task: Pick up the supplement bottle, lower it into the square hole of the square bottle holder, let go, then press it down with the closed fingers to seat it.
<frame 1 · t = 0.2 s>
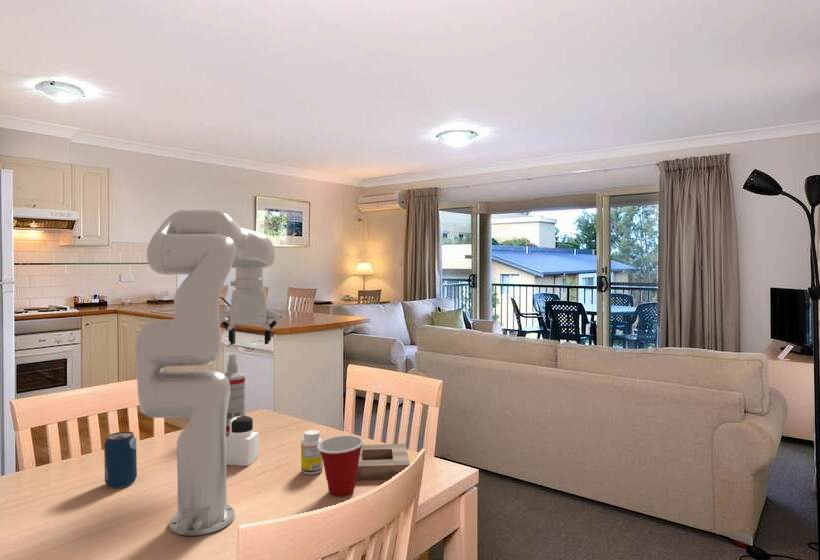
hand: (249, 343, 155), 31 cm above the table, tool pointing down, fingers open, 9 cm apart
square bottle holder: (377, 467, 141), on the table
plastic cup: (340, 492, 126), on the table
soda can: (121, 484, 131), on the table
spray bottle: (233, 431, 173), on the table
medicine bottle: (241, 461, 146), on the table
supplement bottle: (312, 471, 139), on the table
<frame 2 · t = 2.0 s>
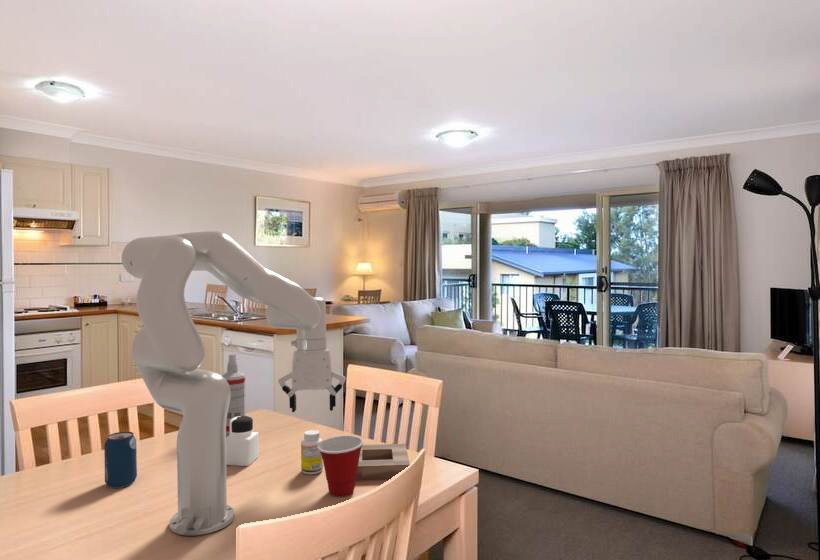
hand: (312, 410, 139), 16 cm above the table, tool pointing down, fingers open, 9 cm apart
nothing on the table moved.
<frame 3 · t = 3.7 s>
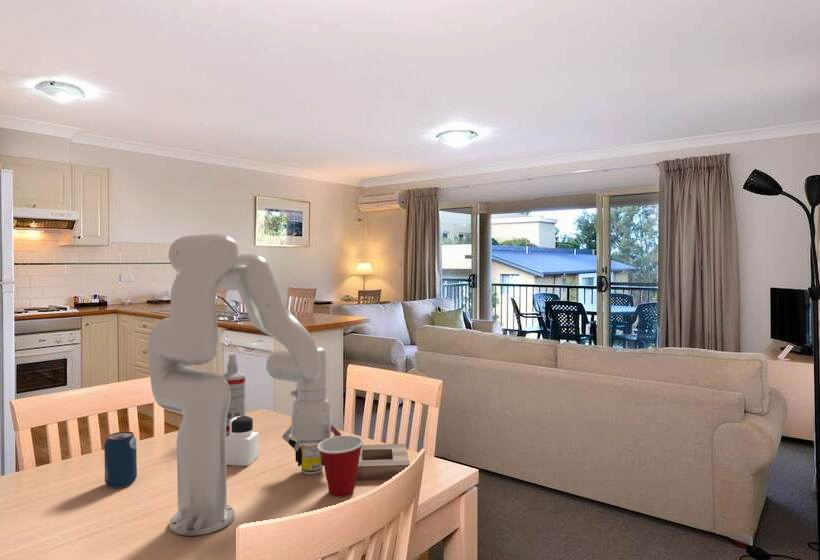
hand: (312, 463, 139), 2 cm above the table, tool pointing down, fingers closed on supplement bottle, 5 cm apart
supplement bottle: (312, 471, 139), on the table, touching gripper
everything else where it was.
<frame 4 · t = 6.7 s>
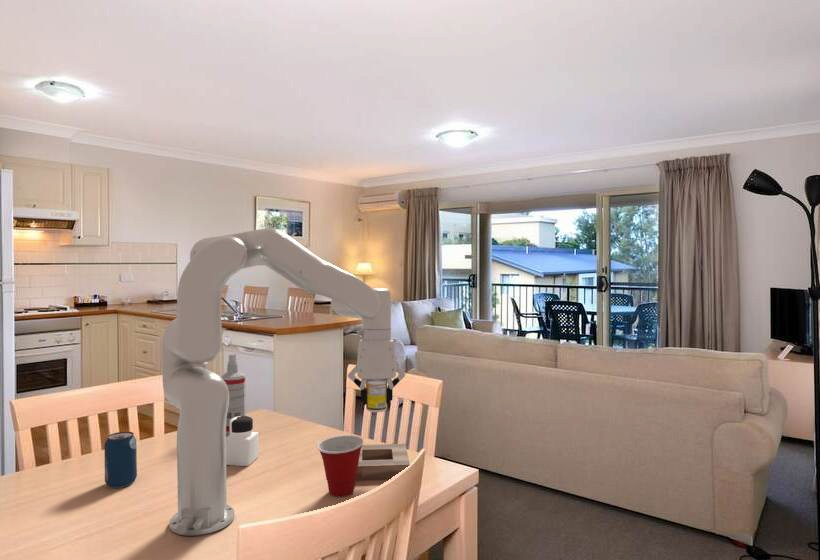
hand: (376, 402, 141), 17 cm above the table, tool pointing down, fingers closed on supplement bottle, 5 cm apart
supplement bottle: (376, 411, 141), point 15 cm above the table, touching gripper
everything else where it was.
when the fingers open (4 cm above the table, at t = 9.6 s): supplement bottle drops 2 cm, resting in square bottle holder.
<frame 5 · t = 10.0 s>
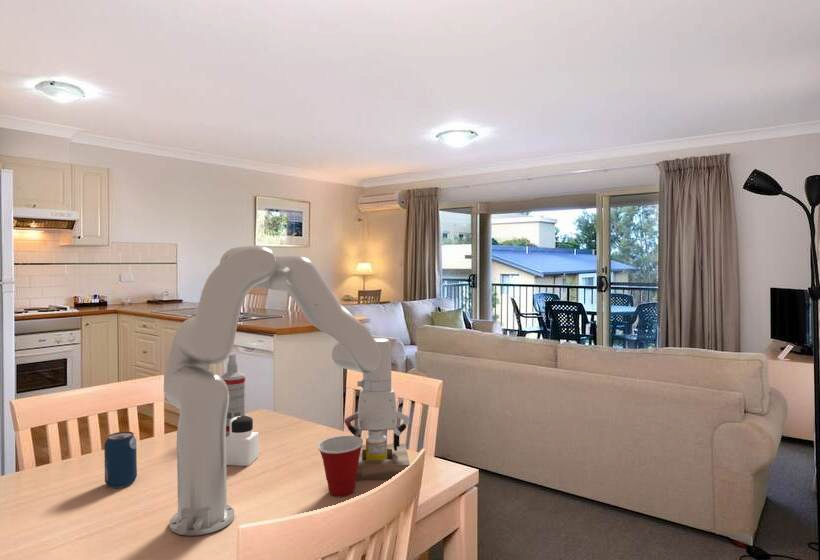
hand: (377, 449, 141), 5 cm above the table, tool pointing down, fingers open, 9 cm apart
supplement bottle: (376, 468, 141), resting in square bottle holder
everything else where it was.
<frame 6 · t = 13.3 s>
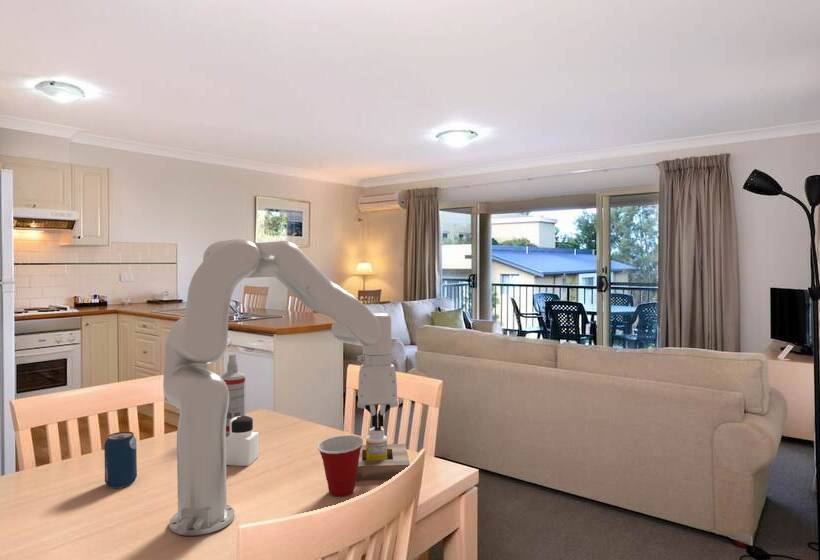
hand: (377, 428, 141), 10 cm above the table, tool pointing down, fingers closed
supplement bottle: (376, 468, 141), resting in square bottle holder, touching gripper
everything else where it was.
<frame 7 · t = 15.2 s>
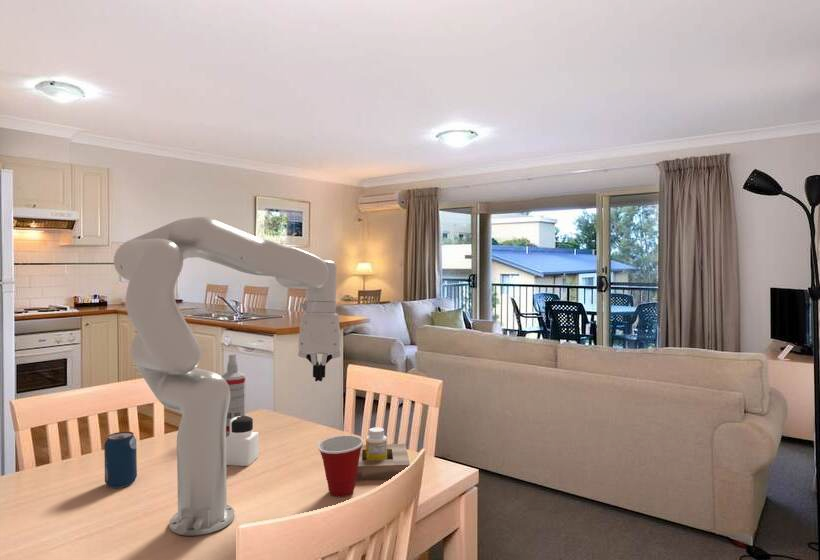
hand: (318, 380, 136), 24 cm above the table, tool pointing down, fingers closed
supplement bottle: (376, 468, 141), resting in square bottle holder
everything else where it was.
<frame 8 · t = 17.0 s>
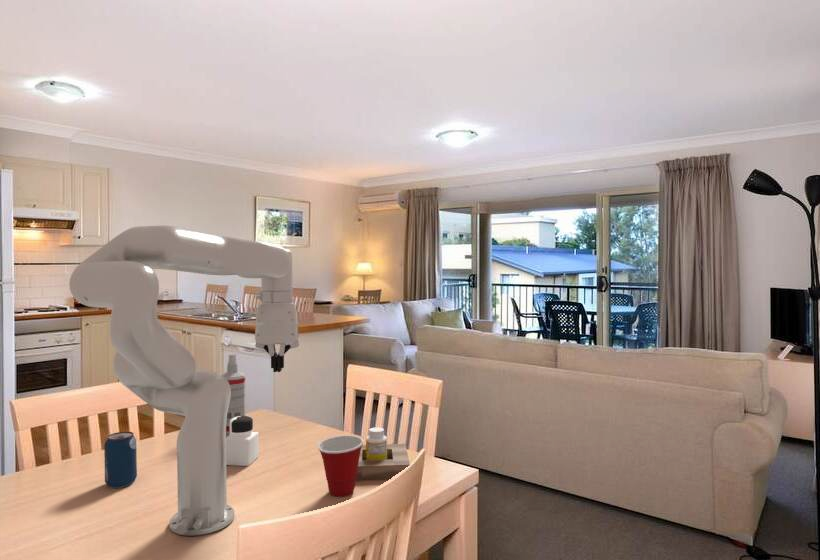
hand: (277, 371, 134), 27 cm above the table, tool pointing down, fingers closed
nothing on the table moved.
at the end: supplement bottle 0.2 cm from the square bottle holder (horizontally); supplement bottle resting in square bottle holder; supplement bottle tilted 0° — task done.
